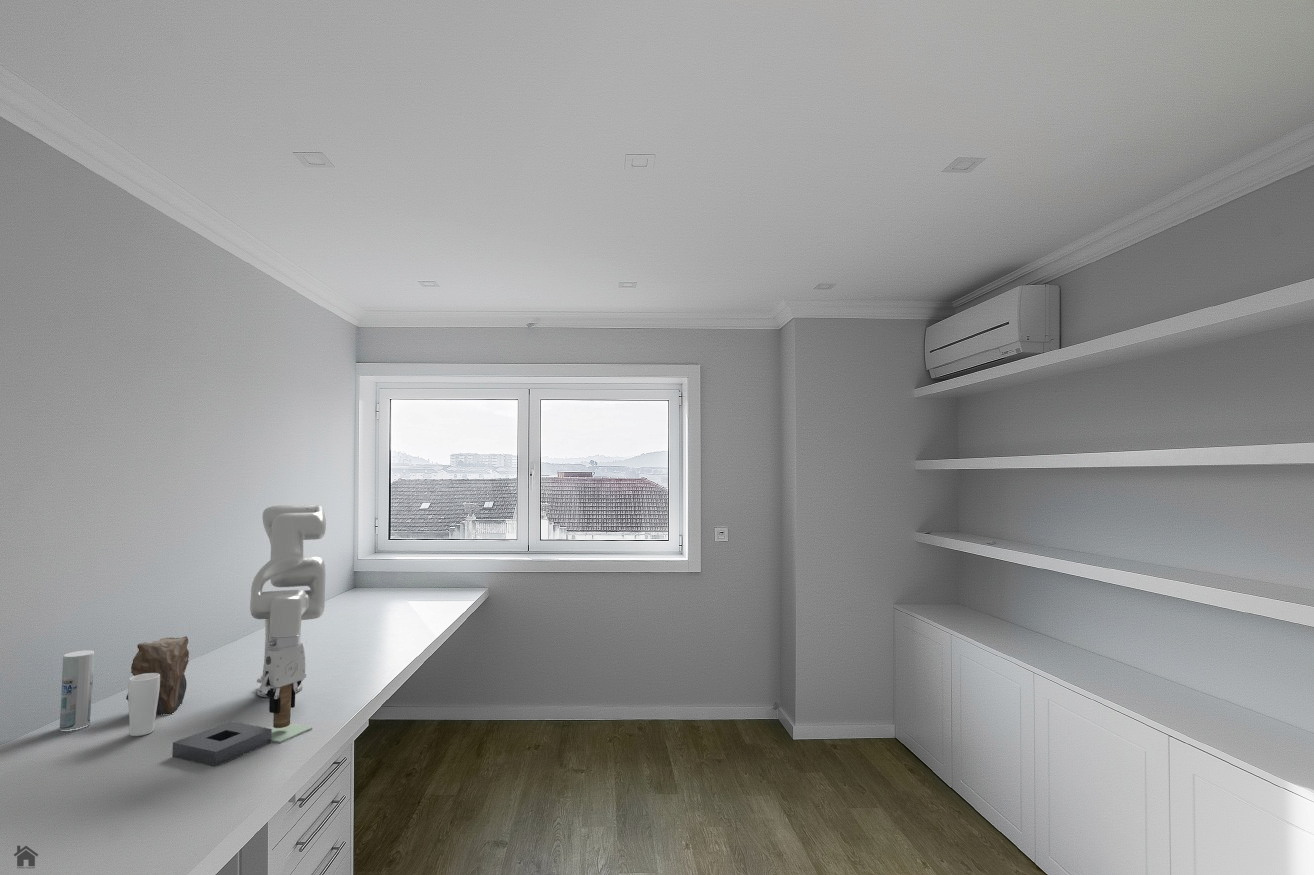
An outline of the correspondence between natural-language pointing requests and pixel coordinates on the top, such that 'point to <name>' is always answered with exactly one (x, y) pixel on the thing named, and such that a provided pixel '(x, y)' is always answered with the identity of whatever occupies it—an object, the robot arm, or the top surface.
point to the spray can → (76, 689)
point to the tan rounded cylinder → (283, 708)
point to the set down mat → (287, 732)
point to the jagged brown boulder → (164, 669)
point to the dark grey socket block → (221, 743)
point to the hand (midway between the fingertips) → (282, 709)
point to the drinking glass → (143, 703)
